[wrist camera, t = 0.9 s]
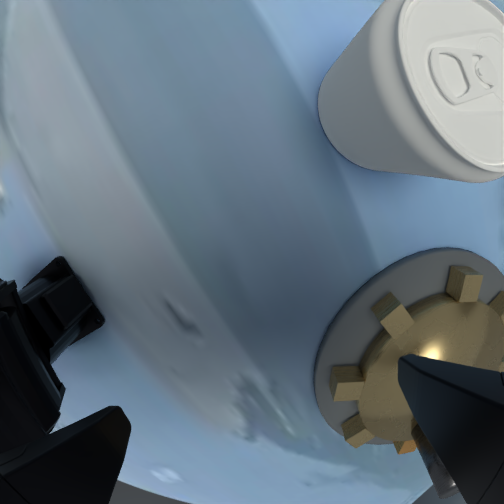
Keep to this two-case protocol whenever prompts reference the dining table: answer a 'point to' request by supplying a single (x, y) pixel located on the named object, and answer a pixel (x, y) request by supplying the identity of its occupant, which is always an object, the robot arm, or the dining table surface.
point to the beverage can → (421, 91)
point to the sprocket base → (368, 326)
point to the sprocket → (423, 344)
